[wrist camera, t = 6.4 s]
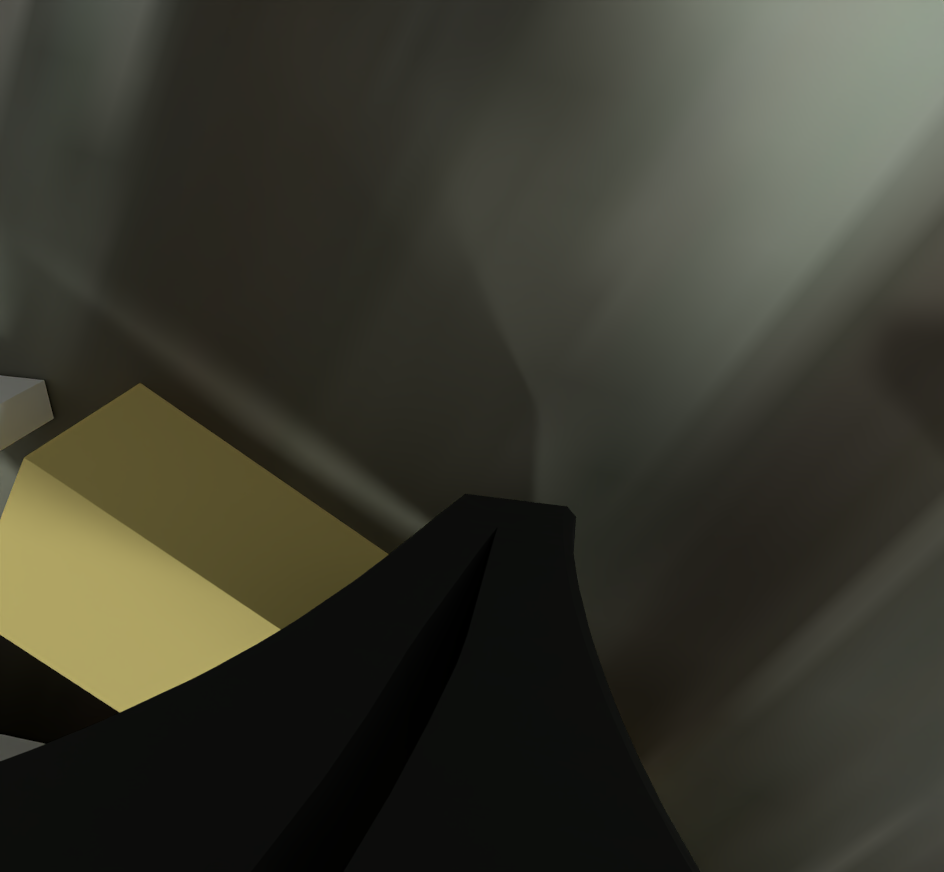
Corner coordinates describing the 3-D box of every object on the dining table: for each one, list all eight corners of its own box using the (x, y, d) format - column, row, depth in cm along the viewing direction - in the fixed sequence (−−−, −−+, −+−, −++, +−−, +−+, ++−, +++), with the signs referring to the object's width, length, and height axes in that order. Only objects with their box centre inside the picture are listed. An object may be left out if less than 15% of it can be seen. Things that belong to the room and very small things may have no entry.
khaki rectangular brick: (609, 691, 12) (591, 838, 10) (497, 788, 13) (460, 935, 11) (152, 374, 11) (24, 457, 9) (88, 513, 13) (-36, 611, 11)
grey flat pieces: (1190, 502, 8) (1393, 688, 6) (973, 970, 12) (1045, 1205, 10) (-158, 358, 12) (-370, 440, 10) (-13, 752, 16) (-141, 883, 13)
